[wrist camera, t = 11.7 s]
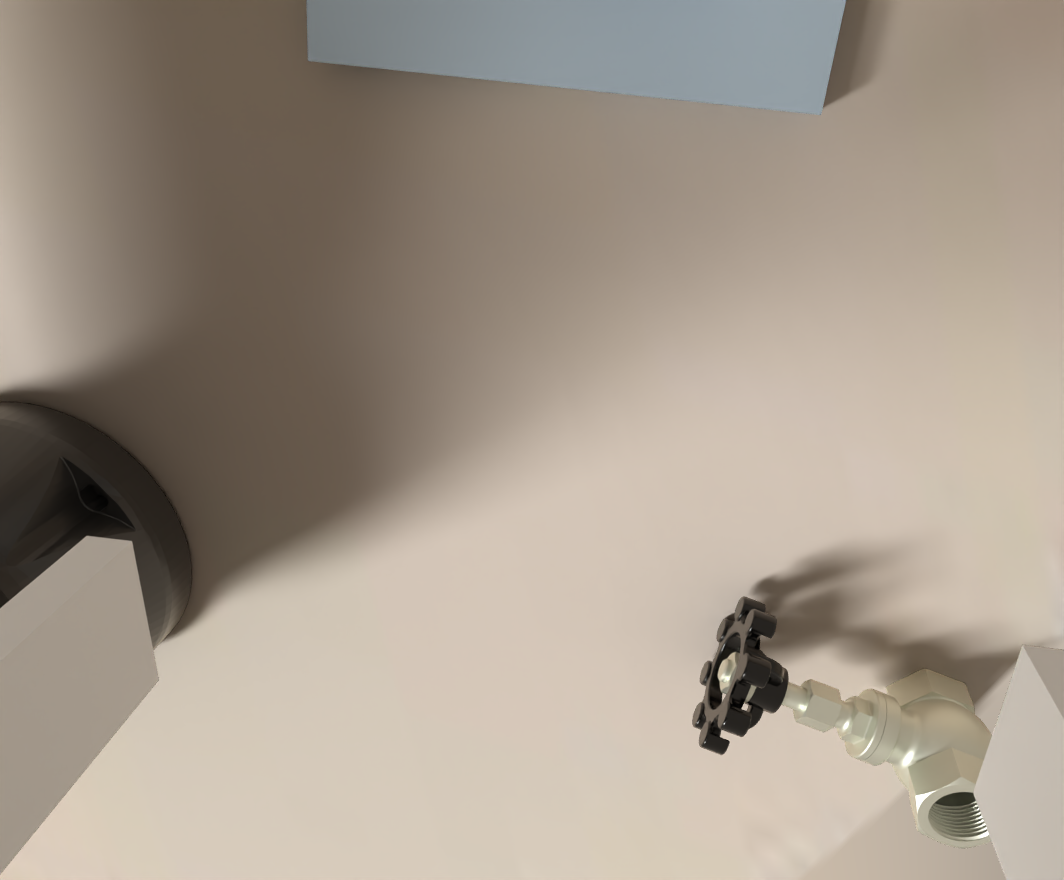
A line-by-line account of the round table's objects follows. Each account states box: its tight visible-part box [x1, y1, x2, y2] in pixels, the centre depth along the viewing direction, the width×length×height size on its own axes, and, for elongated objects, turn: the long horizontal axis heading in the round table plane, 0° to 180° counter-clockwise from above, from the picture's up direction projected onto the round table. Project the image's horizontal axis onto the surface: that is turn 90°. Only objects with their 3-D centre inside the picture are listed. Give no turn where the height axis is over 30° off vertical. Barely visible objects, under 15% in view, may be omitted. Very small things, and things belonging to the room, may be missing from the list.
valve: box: [692, 597, 992, 849], centre depth 37 cm, size 7×7×12 cm
